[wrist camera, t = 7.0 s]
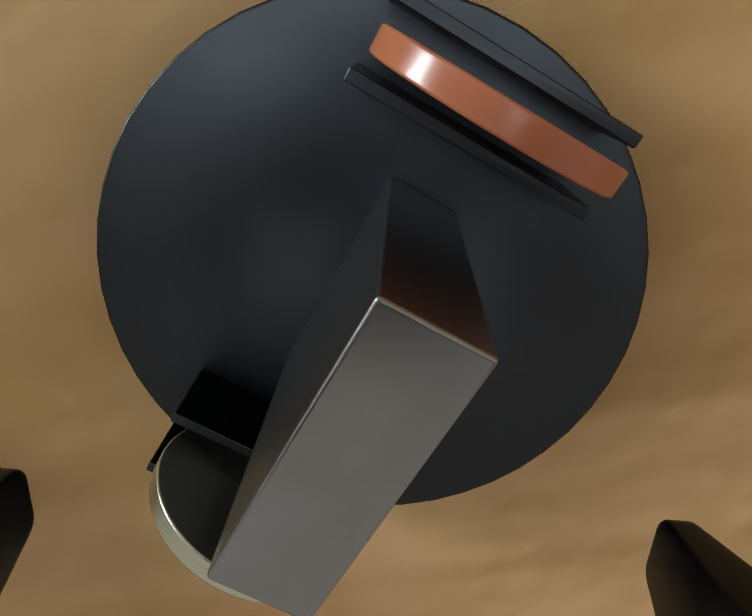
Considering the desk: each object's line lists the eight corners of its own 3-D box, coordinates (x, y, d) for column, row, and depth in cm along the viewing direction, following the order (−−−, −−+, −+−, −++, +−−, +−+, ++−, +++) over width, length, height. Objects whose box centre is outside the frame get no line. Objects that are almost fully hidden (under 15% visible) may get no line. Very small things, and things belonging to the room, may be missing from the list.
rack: (758, 180, 16) (1114, 322, 8) (453, 554, 22) (482, 868, 14) (239, -151, 14) (3, -418, 6) (41, 360, 20) (-226, 596, 11)
